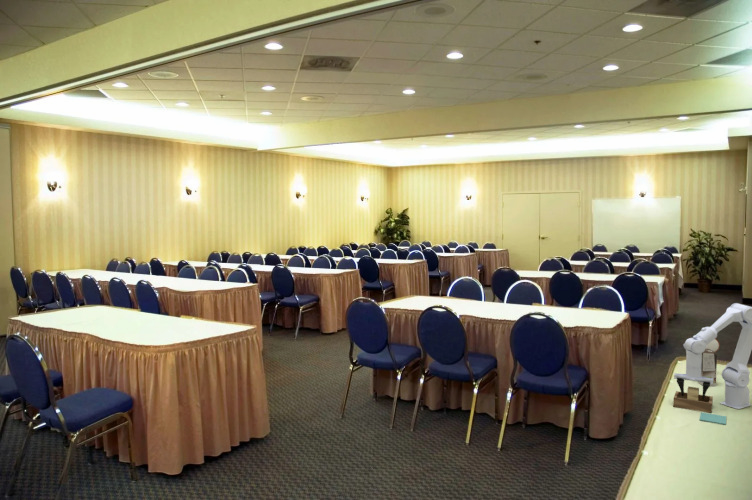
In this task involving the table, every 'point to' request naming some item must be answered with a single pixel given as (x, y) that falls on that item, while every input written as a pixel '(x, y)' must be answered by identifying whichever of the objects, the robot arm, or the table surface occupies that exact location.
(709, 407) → the walnut crate
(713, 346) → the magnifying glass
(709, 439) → the table surface
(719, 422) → the teal mat
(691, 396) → the maple block
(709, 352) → the coffee box
